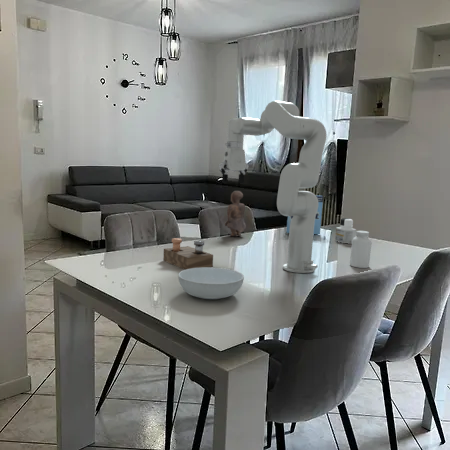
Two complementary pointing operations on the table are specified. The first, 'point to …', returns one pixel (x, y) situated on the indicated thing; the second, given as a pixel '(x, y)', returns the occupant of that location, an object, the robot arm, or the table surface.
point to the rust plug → (176, 244)
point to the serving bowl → (210, 282)
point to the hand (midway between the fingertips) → (233, 183)
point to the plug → (198, 247)
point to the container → (345, 231)
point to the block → (188, 258)
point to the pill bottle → (360, 250)
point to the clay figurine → (236, 214)
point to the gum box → (317, 218)
